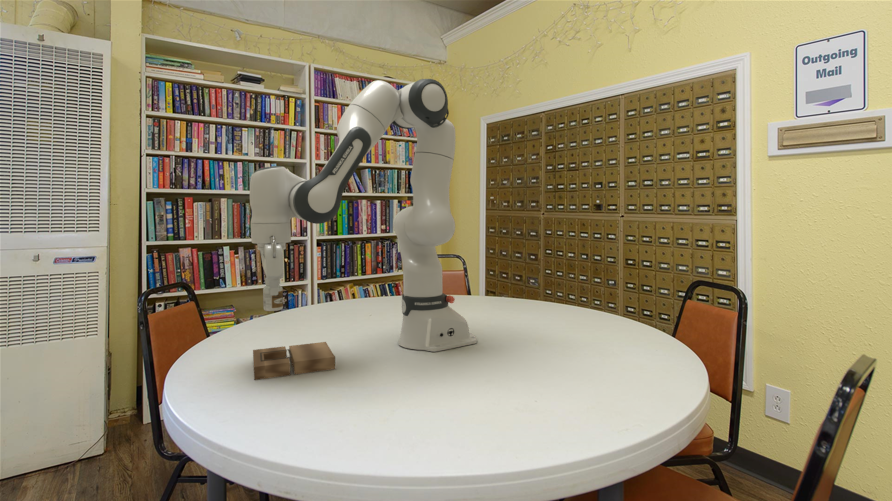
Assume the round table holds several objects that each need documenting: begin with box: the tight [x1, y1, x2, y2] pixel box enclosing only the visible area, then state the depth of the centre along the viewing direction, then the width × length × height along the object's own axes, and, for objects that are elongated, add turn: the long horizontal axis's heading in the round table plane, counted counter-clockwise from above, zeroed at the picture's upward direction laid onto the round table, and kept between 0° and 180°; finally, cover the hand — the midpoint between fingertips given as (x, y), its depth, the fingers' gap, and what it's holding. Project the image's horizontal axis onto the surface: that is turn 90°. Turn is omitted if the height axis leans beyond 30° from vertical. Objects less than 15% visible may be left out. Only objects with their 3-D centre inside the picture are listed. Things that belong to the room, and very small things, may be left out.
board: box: [252, 341, 336, 381], centre depth 116 cm, size 18×14×3 cm
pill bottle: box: [262, 277, 284, 312], centre depth 113 cm, size 4×4×8 cm
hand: (273, 292), depth 113 cm, fingers closed on pill bottle, 4 cm apart
